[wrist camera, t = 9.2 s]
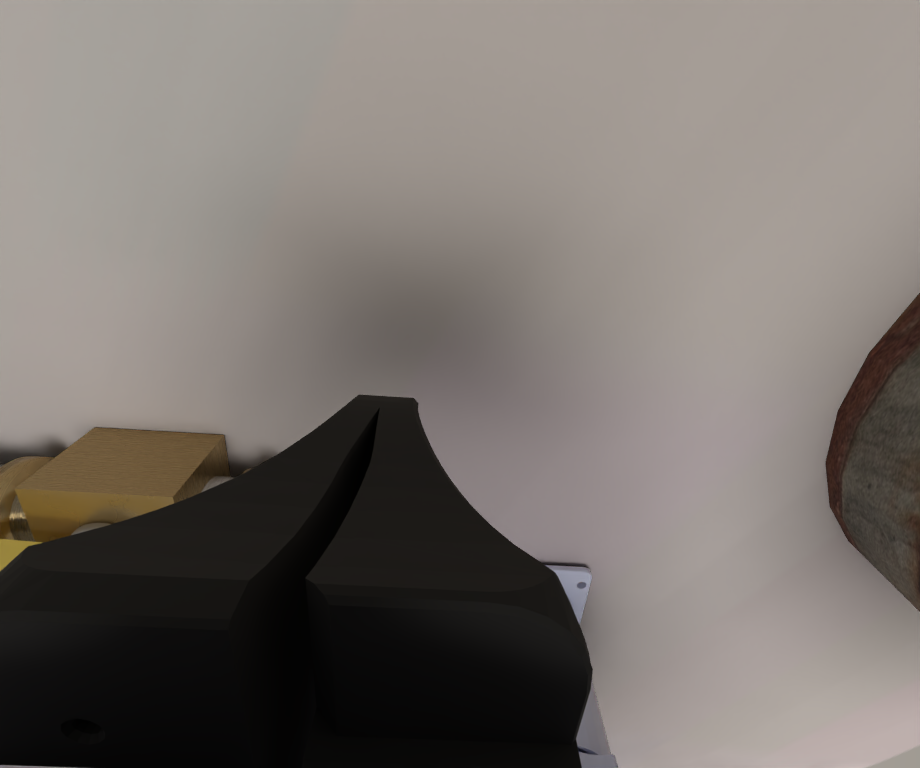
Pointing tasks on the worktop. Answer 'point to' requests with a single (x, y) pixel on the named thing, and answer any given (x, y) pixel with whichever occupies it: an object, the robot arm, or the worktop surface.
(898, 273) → the worktop surface
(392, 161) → the worktop surface
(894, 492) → the barrel
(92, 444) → the valve body
